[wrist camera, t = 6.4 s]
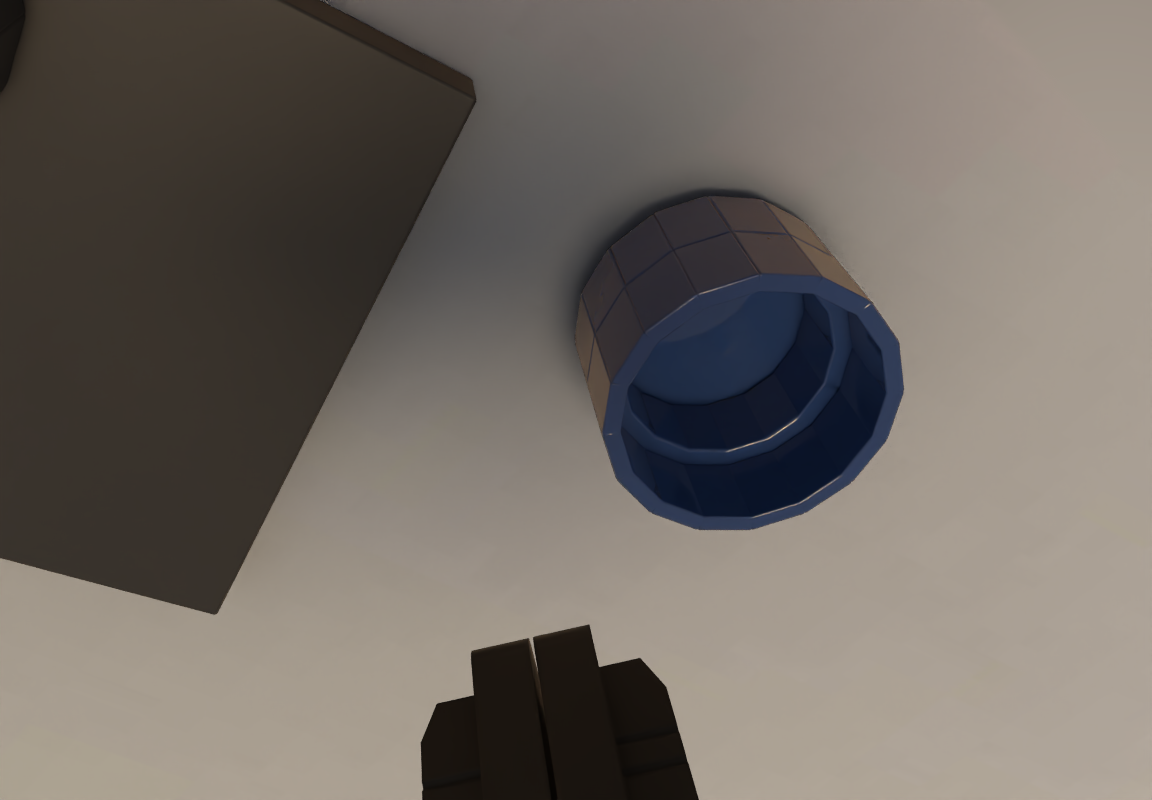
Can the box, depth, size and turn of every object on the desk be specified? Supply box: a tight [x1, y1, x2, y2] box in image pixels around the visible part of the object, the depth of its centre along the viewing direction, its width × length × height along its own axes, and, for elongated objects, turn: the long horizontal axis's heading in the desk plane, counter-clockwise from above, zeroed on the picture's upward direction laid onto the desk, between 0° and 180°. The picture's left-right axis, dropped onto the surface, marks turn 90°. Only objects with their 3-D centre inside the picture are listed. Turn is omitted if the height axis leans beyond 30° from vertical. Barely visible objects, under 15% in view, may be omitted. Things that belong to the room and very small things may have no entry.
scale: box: [0, 0, 476, 615], centre depth 21 cm, size 15×13×3 cm
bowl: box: [575, 196, 904, 530], centre depth 23 cm, size 6×6×4 cm
